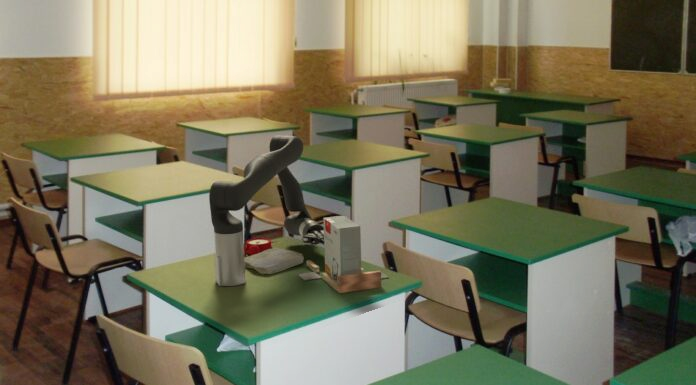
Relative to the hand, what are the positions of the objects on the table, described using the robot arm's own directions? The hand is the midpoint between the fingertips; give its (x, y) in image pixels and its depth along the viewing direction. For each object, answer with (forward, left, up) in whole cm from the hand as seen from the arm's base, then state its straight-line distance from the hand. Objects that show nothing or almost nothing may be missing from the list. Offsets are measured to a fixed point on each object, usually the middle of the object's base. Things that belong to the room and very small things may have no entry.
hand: (328, 242), depth 282 cm
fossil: (-18, +11, -9) cm, 23 cm away
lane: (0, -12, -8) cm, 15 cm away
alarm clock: (-18, +28, -9) cm, 35 cm away
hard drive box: (-1, -18, -9) cm, 20 cm away
